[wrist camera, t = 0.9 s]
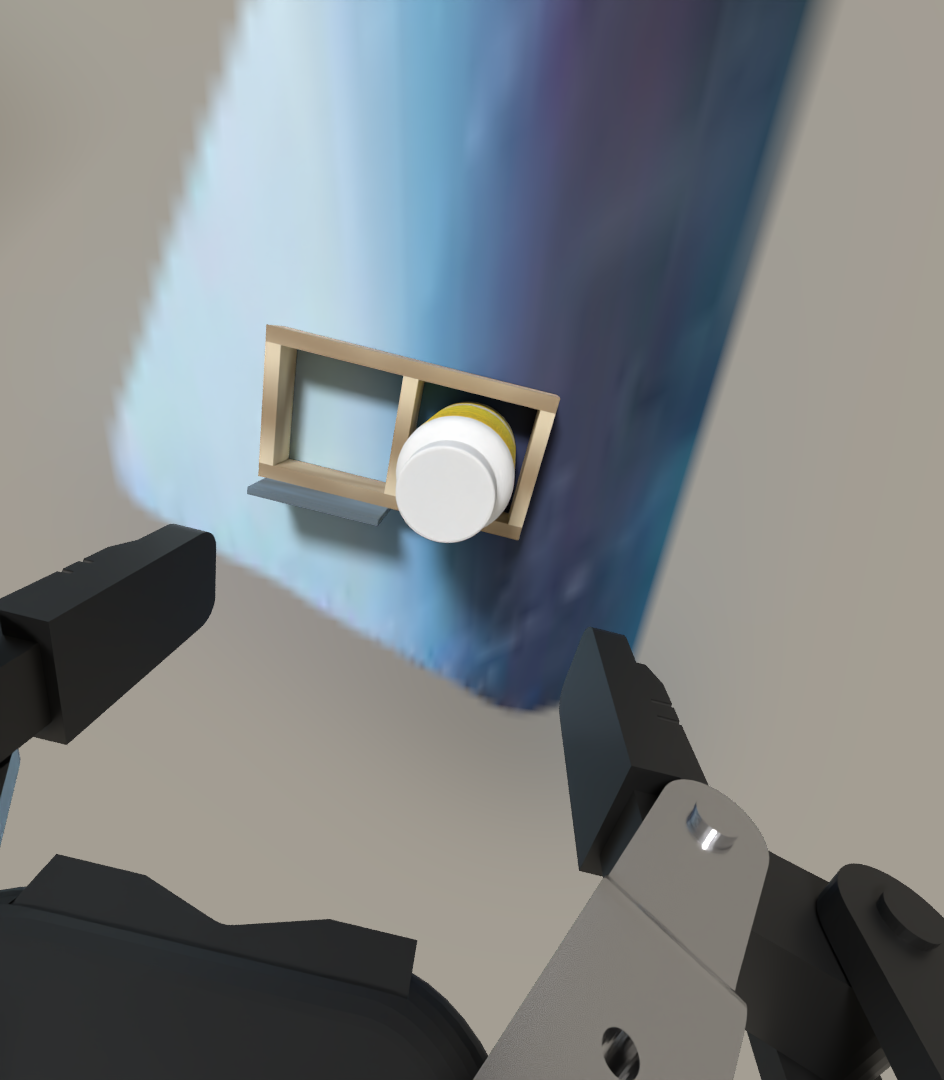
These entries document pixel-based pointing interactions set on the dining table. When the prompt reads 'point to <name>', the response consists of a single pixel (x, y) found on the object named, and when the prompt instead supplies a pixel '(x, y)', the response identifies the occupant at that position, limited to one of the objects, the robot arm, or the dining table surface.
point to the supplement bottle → (456, 472)
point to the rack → (375, 497)
